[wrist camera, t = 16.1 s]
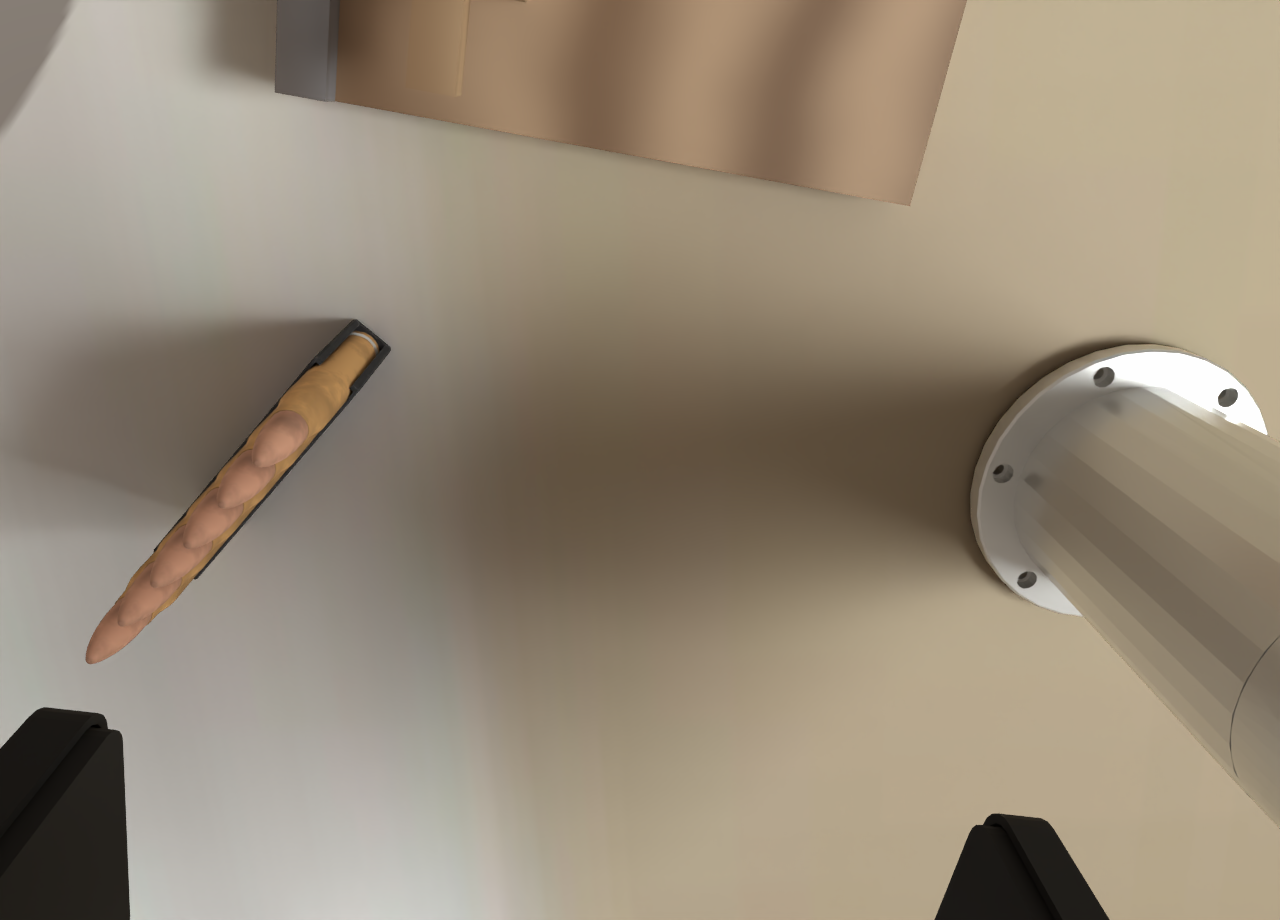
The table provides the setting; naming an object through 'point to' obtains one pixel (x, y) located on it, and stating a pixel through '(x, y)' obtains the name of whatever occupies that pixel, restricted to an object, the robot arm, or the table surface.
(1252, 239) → the table surface
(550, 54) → the board
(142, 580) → the ammunition clip
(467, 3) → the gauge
